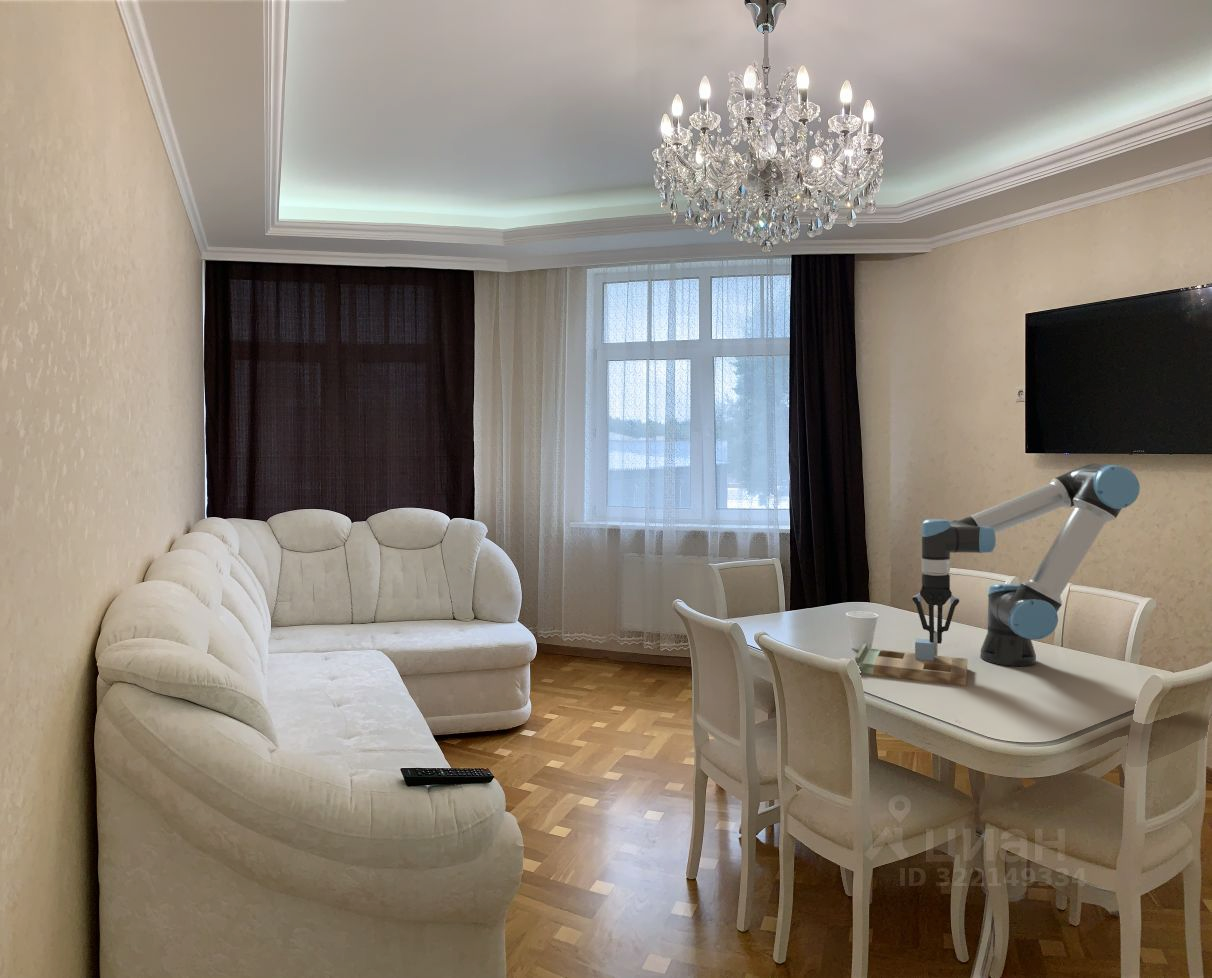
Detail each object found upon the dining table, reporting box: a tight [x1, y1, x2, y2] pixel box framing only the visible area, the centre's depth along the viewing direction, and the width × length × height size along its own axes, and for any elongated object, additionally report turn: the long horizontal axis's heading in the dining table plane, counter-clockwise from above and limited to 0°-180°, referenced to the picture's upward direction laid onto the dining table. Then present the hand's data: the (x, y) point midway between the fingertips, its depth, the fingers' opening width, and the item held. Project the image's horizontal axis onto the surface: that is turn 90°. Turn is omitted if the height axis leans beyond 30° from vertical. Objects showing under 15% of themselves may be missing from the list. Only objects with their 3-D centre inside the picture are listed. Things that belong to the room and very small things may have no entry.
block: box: [914, 638, 935, 661], centre depth 240 cm, size 5×5×5 cm
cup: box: [845, 610, 879, 651], centre depth 262 cm, size 10×10×11 cm
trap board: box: [854, 643, 968, 687], centre depth 237 cm, size 29×18×4 cm, turn 66°
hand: (935, 654), depth 239 cm, fingers closed
